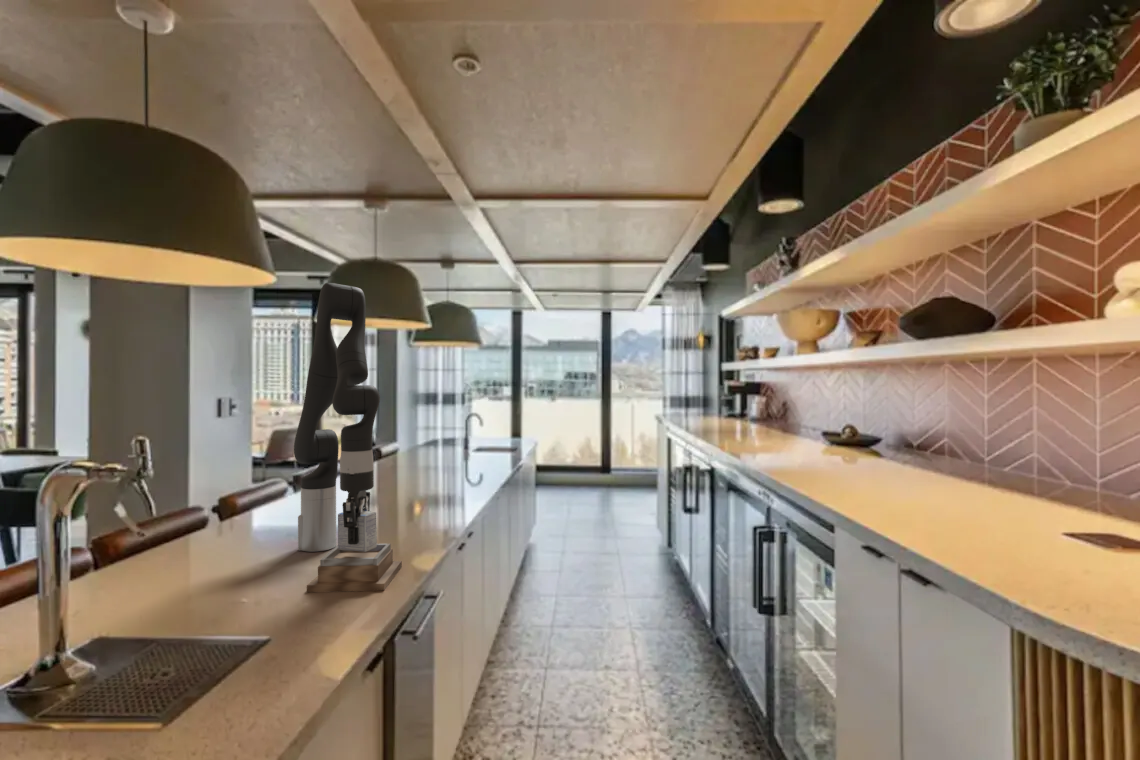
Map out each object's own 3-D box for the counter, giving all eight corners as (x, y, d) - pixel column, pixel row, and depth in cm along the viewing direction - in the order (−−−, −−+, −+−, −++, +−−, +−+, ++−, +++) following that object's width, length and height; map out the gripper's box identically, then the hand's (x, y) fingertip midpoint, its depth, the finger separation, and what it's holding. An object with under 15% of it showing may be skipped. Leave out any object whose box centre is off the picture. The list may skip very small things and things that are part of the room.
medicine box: (377, 547, 142) (377, 511, 143) (365, 552, 138) (365, 515, 138) (349, 545, 145) (349, 509, 145) (337, 550, 141) (337, 513, 141)
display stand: (306, 592, 133) (306, 562, 133) (333, 568, 150) (332, 542, 150) (384, 590, 134) (384, 561, 134) (401, 566, 150) (401, 541, 151)
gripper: (350, 465, 149) (350, 533, 149) (330, 474, 134) (330, 549, 134) (380, 464, 149) (381, 532, 149) (364, 473, 135) (364, 548, 135)
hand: (357, 540), depth 142 cm, fingers closed on medicine box, 5 cm apart
